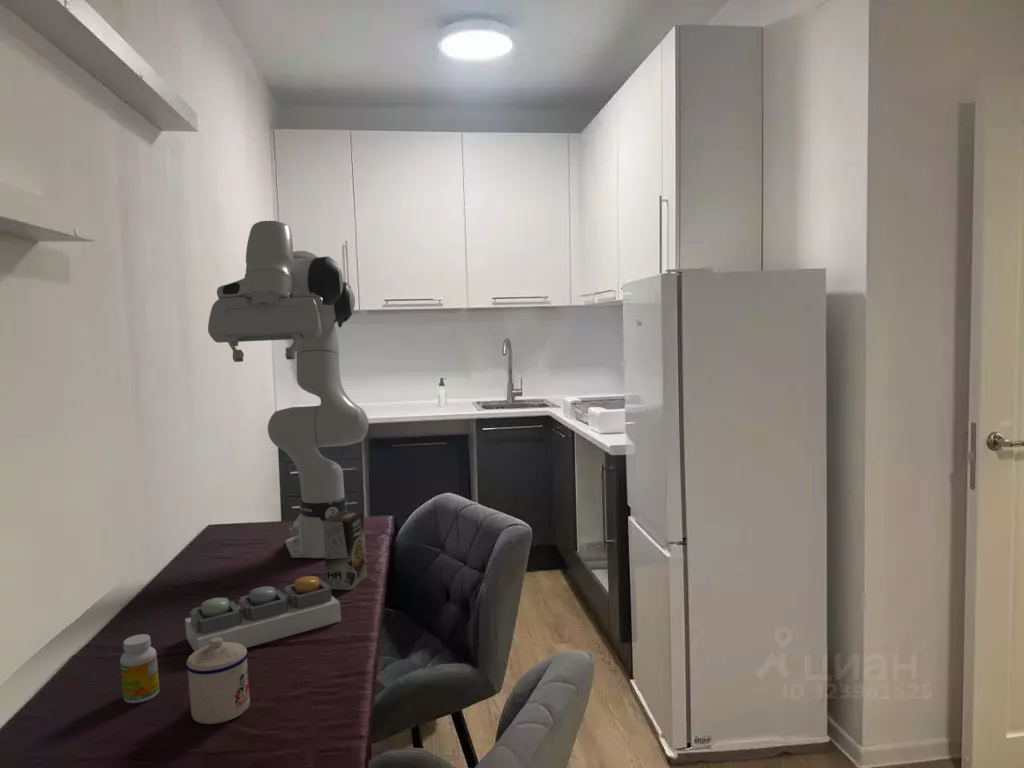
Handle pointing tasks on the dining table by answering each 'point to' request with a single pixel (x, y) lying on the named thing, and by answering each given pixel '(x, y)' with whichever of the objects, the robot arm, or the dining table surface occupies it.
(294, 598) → the button console
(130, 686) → the supplement bottle
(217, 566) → the dining table surface
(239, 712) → the teacup with lid
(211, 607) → the sage button
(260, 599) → the slate button
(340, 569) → the coffee box
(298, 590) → the orange button
